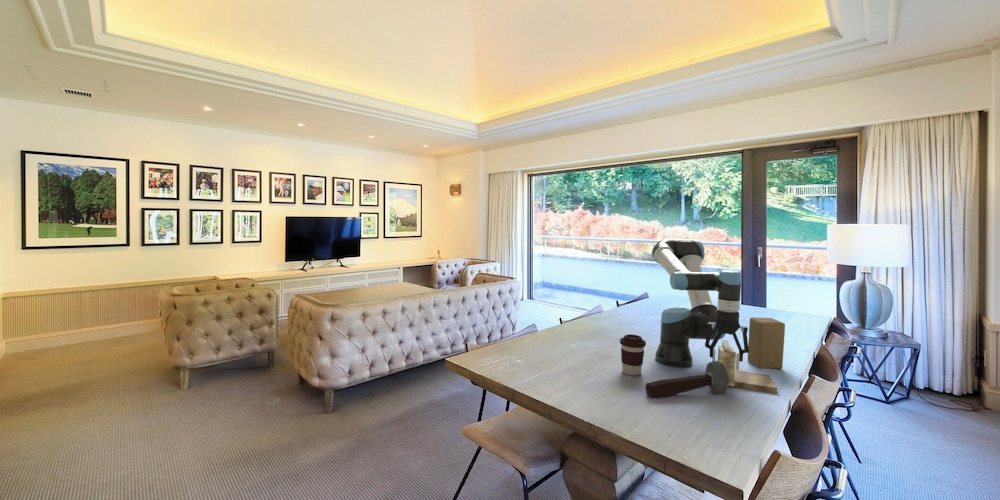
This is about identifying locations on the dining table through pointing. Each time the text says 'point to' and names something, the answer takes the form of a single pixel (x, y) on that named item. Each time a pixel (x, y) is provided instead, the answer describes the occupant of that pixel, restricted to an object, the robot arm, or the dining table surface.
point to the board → (754, 381)
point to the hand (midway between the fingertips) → (725, 367)
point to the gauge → (727, 360)
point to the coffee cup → (632, 354)
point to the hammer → (691, 382)
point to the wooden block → (766, 342)
